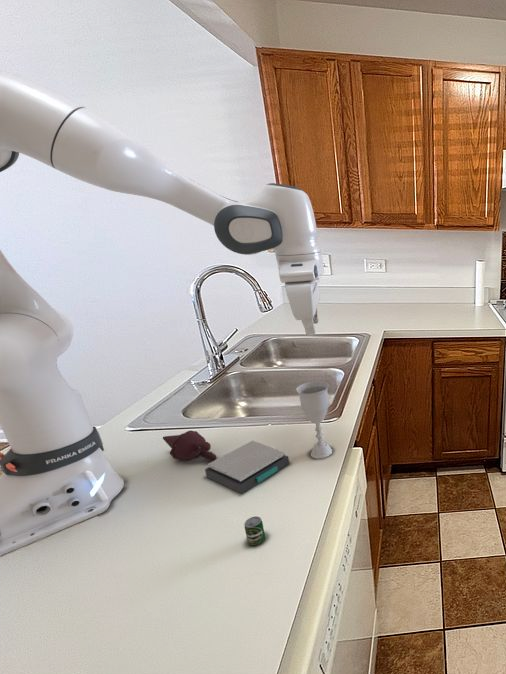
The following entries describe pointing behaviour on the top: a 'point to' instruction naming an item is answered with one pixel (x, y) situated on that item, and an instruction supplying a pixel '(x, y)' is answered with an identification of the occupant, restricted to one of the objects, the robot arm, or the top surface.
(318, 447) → the chalice
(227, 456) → the scale pan
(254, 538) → the beer can
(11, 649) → the top surface
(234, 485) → the scale
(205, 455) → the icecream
